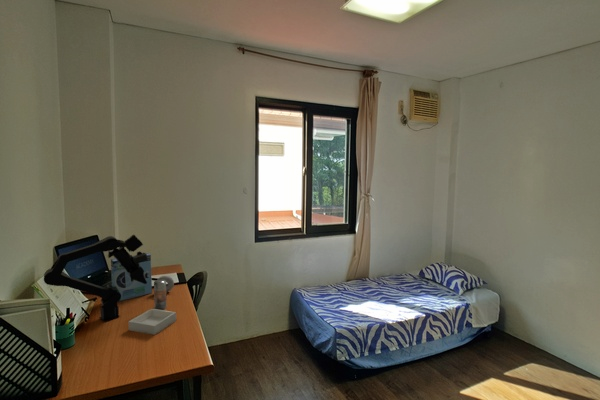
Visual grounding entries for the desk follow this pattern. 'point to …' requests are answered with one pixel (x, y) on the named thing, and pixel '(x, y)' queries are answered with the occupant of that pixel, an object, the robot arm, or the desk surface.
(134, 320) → the tray
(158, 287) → the tin
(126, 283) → the gum box
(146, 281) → the robot arm
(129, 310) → the desk surface
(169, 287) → the donut
